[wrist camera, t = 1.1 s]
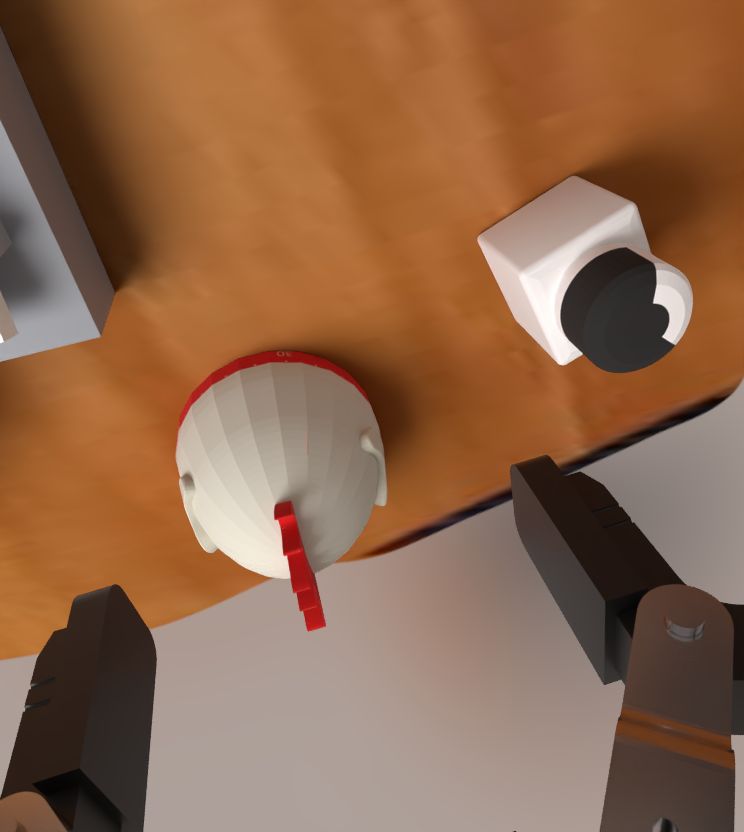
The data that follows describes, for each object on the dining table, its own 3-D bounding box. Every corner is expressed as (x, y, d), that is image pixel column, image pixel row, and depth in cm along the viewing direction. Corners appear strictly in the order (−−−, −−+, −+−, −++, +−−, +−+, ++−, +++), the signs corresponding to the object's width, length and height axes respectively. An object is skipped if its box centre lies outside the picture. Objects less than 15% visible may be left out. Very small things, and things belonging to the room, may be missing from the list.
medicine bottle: (514, 321, 44) (603, 412, 34) (473, 235, 40) (560, 310, 30) (606, 264, 43) (724, 341, 33) (574, 171, 39) (696, 227, 29)
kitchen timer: (212, 533, 49) (212, 713, 36) (146, 380, 41) (119, 543, 28) (387, 485, 50) (446, 643, 37) (356, 328, 42) (418, 462, 30)
